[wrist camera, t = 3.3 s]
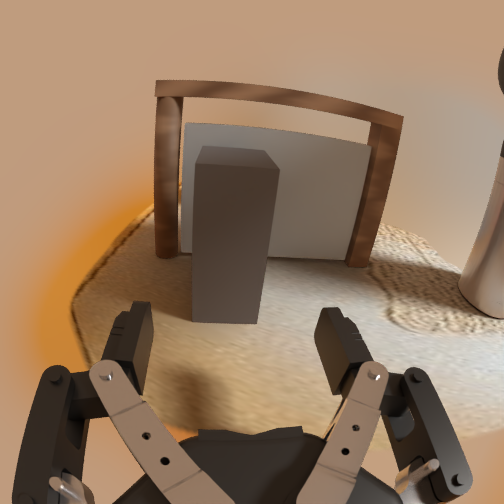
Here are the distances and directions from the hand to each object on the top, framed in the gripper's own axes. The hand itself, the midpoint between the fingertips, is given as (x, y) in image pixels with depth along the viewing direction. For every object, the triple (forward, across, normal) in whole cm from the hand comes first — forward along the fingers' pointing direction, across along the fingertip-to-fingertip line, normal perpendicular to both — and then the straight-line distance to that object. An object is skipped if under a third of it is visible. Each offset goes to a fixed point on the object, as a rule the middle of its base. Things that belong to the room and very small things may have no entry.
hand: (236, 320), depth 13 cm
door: (+18, -5, +6) cm, 20 cm away
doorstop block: (+10, 0, +6) cm, 12 cm away
